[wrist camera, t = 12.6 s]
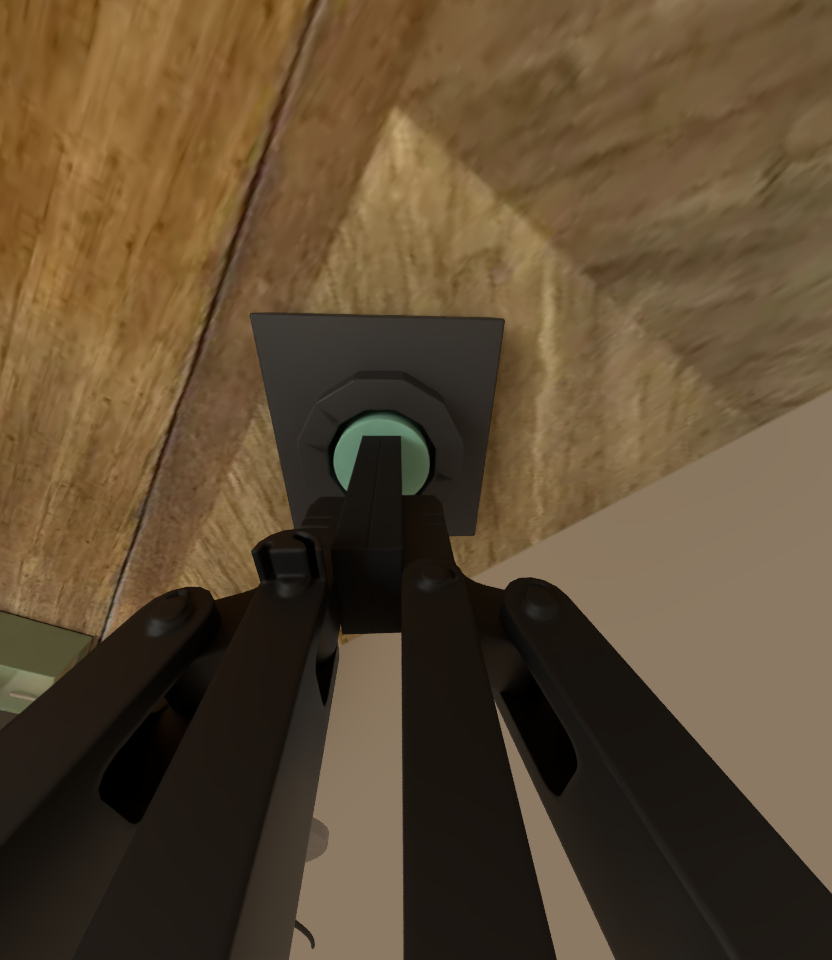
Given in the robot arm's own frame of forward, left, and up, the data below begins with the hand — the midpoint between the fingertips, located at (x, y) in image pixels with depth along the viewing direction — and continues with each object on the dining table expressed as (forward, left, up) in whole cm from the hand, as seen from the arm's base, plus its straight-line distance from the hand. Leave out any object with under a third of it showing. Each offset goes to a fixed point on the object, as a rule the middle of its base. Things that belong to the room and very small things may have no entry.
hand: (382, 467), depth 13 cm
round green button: (0, 0, -2) cm, 2 cm away
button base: (0, 0, -5) cm, 5 cm away
